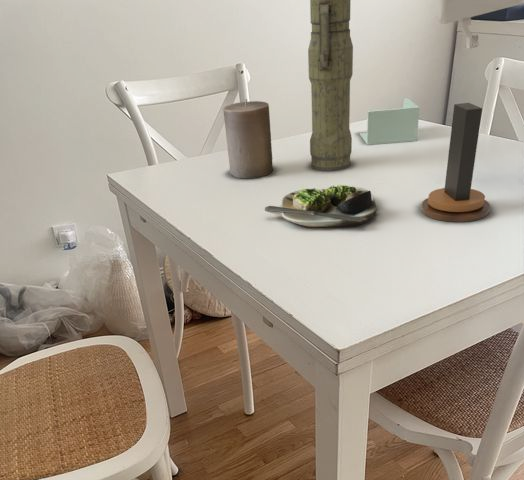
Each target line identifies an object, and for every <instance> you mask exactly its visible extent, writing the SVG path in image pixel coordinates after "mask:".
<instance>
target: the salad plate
mask: <svg viewBox="0 0 524 480" xmlns="http://www.w3.org/2000/svg"><path fill="white" fill-rule="evenodd" d="M264 211H265V212H267V213H270V214H273V215H277V216H278V217H281V218H283V219H284V220H285V221H288V222H291V223H292V224H293V223H294V224H296V225H300V226H304V227H307V228H335V227H336V228H337V227H339V228H343V227H355V226H360V225H364V224H366V223H368V222H370V221H371V220H372V219H373V218H374V217H375V215H376V213H377V211H378V206H377V203H376V201H375V198H374V196H373V194H372V191H371V190H368V189H366V188H364V187H358V186H353V185H352V186H350V185H340V184H337V185H336V186H335V185H331V186H329V187H328V188H320V189H318V188H315V187H313V188H302V189H299V190H295V191H292V192H290V193H288V194H285V195H284V196H283V197H282V198H281V203H280V206H275V205H268V206H265V207H264Z"/></svg>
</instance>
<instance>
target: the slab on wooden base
mask: <svg viewBox="0 0 524 480" xmlns="http://www.w3.org/2000/svg"><path fill="white" fill-rule="evenodd" d="M482 112H483V107H480V106H477V105H475V104H473V103H470V102H463V103H455V104H453V112H452V122H451V130H450V131H451V132H450V139H449V147H448V157H447V164H446V172H445V173H446V174H445V180H444V181H445V182H444V187H442V188H438V189H435V190H432V191H431V192H429V193H428V197H427V198H428V204H429V205H430V206H431V207H433V208H435V209H438V210H442V211H448V212H467V211H473V210H477V209H479V208H481V207H482V206H483V205H484V200H486V196H485V194H484V193H483V192H482V191H480V190H477V189H475V188H472V184H473V183H472V182H473V177H474V169H475V162H476V156H477V149H478V141H479V136H480V135H479V134H480V127H481V119H482V114H483V113H482Z"/></svg>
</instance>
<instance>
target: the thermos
mask: <svg viewBox="0 0 524 480" xmlns="http://www.w3.org/2000/svg"><path fill="white" fill-rule="evenodd" d="M351 1H352V0H309V8H310V10H309V11H310V15H309V16H310V24H311V32H310V41H309V45H308V49H307V58H308V59H307V60H308V63H307V64H308V80H309V82H310V88H311V89H310V90H311V131H312V132H311V136H310V140H309V154H310V157H311V159H310V160H311V164H310V166H311V169H313V170H315V171H316V170H317V171H321V172H333V171H334V172H335V171H340V170H341V171H342V170H345V169H348V168H349V167H351V163H352V162H351V154H352V152H353V151H352V147H353V142H352V141H353V137H352V132H351V129H350V114H351V113H350V112H351V111H350V110H351V109H350V108H351V107H350V106H351V105H350V104H351V80H352V77H353V69H354V68H353V66H354V62H353V61H354V44H353V41H352V38H351V28H350V21H351Z"/></svg>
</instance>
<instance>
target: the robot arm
mask: <svg viewBox="0 0 524 480" xmlns="http://www.w3.org/2000/svg"><path fill="white" fill-rule="evenodd" d="M523 4H524V0H435V15H436V16H435V17H436V19H437V21H438V22H439V23H440V24H443V25H445V24H446V25H447V24H450V23H454V22H458V28H459V30H460V31H461V32H462V34H463V35H464V37H465V39H466V40H465V41H466V49H468V50H470V49H474V48H476V47H479V34H473V32H472V31H471V30H470V28H469V26H471V25H472V18H473V17H478V16H481V15H484V14H488V13H492V12H493V13H494V12H496V11H499V10H503V9H507V8H512V7H515V6H519V5H523Z"/></svg>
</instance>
